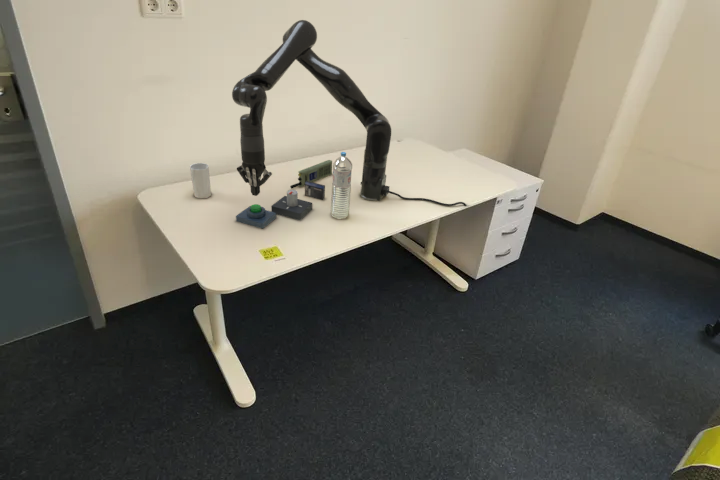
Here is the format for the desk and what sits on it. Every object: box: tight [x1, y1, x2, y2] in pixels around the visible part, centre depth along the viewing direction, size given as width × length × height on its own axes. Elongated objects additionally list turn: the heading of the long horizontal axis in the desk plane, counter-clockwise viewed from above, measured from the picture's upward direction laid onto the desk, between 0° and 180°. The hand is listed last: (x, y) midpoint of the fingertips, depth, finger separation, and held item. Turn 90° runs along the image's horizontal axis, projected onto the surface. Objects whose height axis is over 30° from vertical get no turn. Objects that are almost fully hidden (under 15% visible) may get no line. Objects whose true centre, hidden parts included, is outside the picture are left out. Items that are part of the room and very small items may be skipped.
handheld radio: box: [289, 159, 333, 190], centre depth 184 cm, size 7×3×25 cm
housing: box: [235, 205, 277, 230], centre depth 153 cm, size 11×9×4 cm
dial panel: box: [270, 195, 313, 221], centre depth 161 cm, size 12×10×3 cm
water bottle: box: [330, 151, 353, 220], centre depth 156 cm, size 7×7×25 cm
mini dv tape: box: [304, 181, 326, 201], centre depth 172 cm, size 8×2×6 cm, turn 68°
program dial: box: [286, 189, 299, 207], centre depth 159 cm, size 4×4×5 cm
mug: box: [189, 162, 212, 199], centre depth 165 cm, size 10×7×12 cm, turn 46°
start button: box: [250, 203, 262, 213], centre depth 152 cm, size 4×4×2 cm
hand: (255, 194), depth 149 cm, fingers closed
